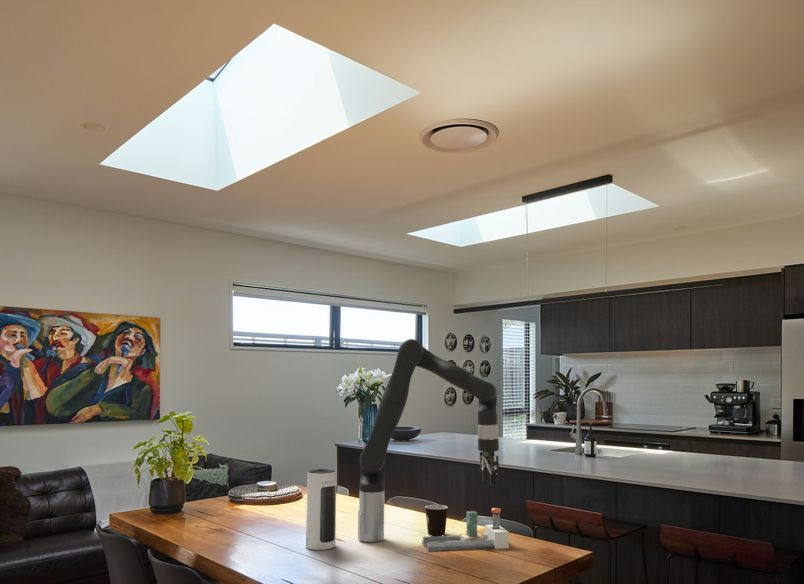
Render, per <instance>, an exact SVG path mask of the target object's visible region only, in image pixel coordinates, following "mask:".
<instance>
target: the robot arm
mask: <svg viewBox="0 0 804 584" xmlns="http://www.w3.org/2000/svg"><path fill="white" fill-rule="evenodd" d="M416 367H418V368H421V369H425V370H426V371H429V372H430V373H432V374H435V375H437V376H438V377H439V378H441V379H443V380H444V381H446V382H448V383H449V384H451V385H453V386H454V387H456V388H459V389H461V390H463V391H465V392H467V393H469V394H470V395H471V396H473V397H475V398H476V399H477V401H478V411H477V449H478V450H477V451H478V452H479V468H480V469H481V472H482V482H484V483H485V482H486V483H487V482H489V483H490V485H491V486H497V485H498V481H497V480H498V478H497V477H498V474H499V473H500V465H499V455H495V452H498V451H499V450H500V445H499V444H500V442H499V441H500V440H499V428H498V426H499V425H498V414H497V403H498V402H497V399H498V398H497V395H498V393H497V388H496V386H495V384H494V383H492V382H489V381H487V380H484V379H483V378H480V377H478V376H476V375H475V374H473V373H472V372H471V371H468V370H466V369H464V368H462V367H460V366H459V365H457V364H454V363H453V362H449V361H447V360H444V359H442V358H441V357H439V356H438V355H436V354H434V353H432V352H431V351H430V350H428V349H427V348H426V347H424V346H423V345H422V344H421V342H419V341H418V340H416V339H413V338H409V339H406V340H404V341H403V342H402V343H401V345H400V346H399V348H398V351H397V356H396V360H395V363H394V367H393V371H392V373H391V376H390V378H389V379H388V383H387V384H386V387H385V389H384V391H383V393H382V395H381V399H380V401H379V405H378V408H377V409H376V415H375V419H374V423H373V426H372V430H371V433H370V436H369V438H368V440H367V442H366V444H365V446H364V449H362V451H361V452H360V456H359V464H360V465H359V468H360V473H359V495H358V497H359V498H358V499H359V500H358V501H359V502H358V503H359V507H358V508H359V510H358V512H357V516H358V517H357V539H358V540H359V542H366V543H376V542H377V543H378V542H382V541H384V539H385V487H386V486H385V485H386V483H385V482H386V455H387V451H388V448H389V444H390V442H391V439H392V437H393V434H394V432H395V430H396V428H397V426H398V425H399V422H400V420H401V418H402V415H403V413H404V411H405V407H406V404H407V400H408V397H409V391H410V384H411V379H412V376H413V373H414V371H415V369H416Z"/></svg>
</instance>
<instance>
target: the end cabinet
mask: <svg viewBox="0 0 804 584" xmlns="http://www.w3.org/2000/svg"><path fill="white" fill-rule="evenodd" d="M484 534H486V535H487V539H493V540H494V545H495V548H494V550H499V549H509V548H510V547H509V546H510V545H509V544H510V543H509V542H510V541H509V540H510V539H509V538H510V536H509V531H508V530H507V529H505V527H502V526H501V525H500V529H496V530H493V524H484Z"/></svg>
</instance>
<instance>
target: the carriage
mask: <svg viewBox="0 0 804 584" xmlns="http://www.w3.org/2000/svg"><path fill="white" fill-rule="evenodd" d="M459 535H460V540H484V537H483V536H482V535H480V533H478V512H476V510H471V511H468V510H467V511H466V533H464V534H462V533H461V534H459Z"/></svg>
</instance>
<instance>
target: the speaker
mask: <svg viewBox="0 0 804 584" xmlns="http://www.w3.org/2000/svg"><path fill="white" fill-rule="evenodd" d="M306 474H307V475H306V476H307V477H306V479H307V480H306V483H307V484H306V485H307V486H306V487H307V488H306V521H305V522H306V525H305V526H306V527H305V528H306V530H305V548H306V549H308V550H310V551H327V550H332V549H333V548H335V547H336V535H337V534H336V530H337V528H336V527H337V525H336V524H337V523H336V521H337V517H336V516H337V470H336V469H331V468H328V469H327V468H316V469H310V470H308V471H307V473H306Z"/></svg>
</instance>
